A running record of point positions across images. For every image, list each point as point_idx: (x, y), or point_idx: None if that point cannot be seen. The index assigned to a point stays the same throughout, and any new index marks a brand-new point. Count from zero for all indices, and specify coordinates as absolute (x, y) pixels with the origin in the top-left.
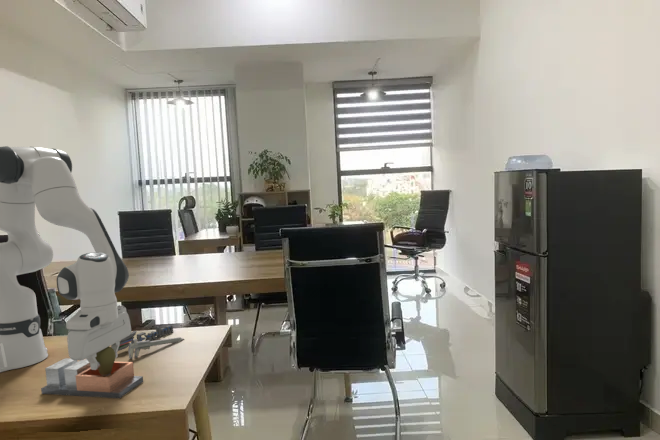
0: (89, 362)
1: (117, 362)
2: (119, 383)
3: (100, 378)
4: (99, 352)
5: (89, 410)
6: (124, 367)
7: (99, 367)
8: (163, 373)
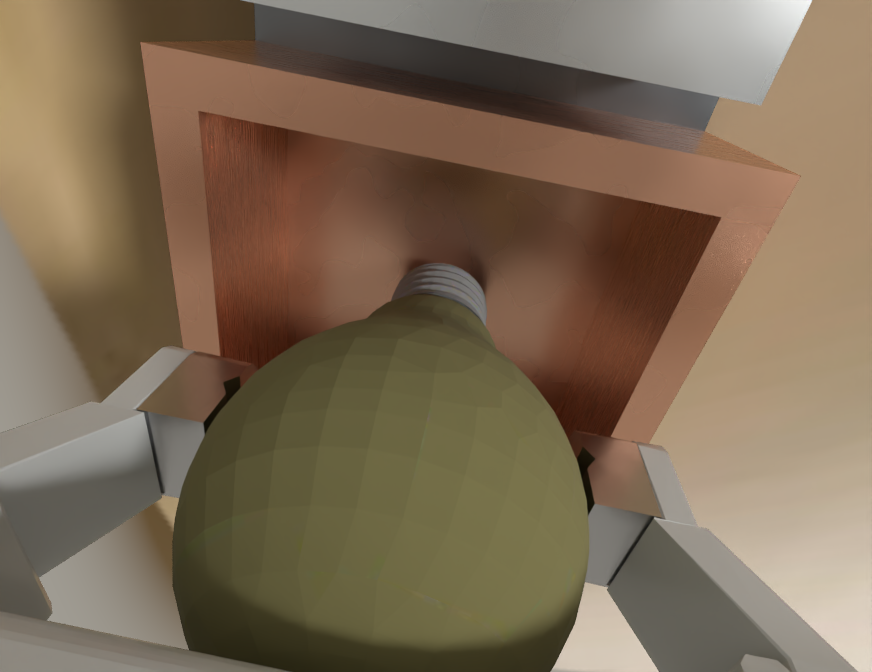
0: (61, 418)
1: (619, 436)
2: None
3: None
4: (188, 635)
5: (98, 306)
6: None
7: None
8: None
